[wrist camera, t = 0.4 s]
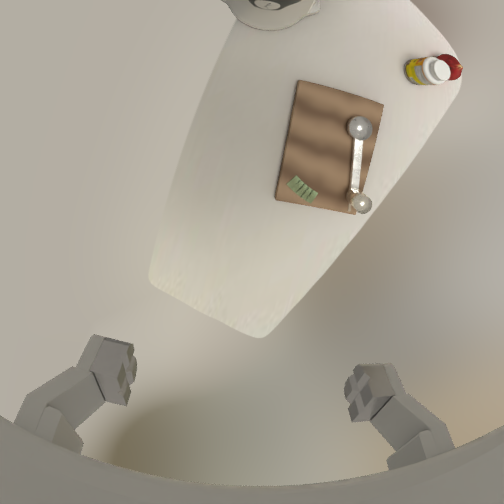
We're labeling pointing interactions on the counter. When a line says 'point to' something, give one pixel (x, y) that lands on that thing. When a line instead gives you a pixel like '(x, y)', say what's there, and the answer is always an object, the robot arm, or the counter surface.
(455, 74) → the onion
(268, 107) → the counter surface
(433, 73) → the supplement bottle
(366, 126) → the silver measuring spoon
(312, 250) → the counter surface
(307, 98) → the board
